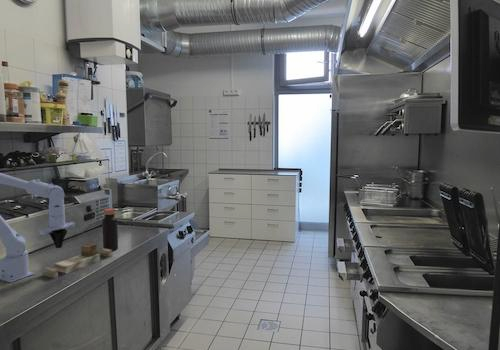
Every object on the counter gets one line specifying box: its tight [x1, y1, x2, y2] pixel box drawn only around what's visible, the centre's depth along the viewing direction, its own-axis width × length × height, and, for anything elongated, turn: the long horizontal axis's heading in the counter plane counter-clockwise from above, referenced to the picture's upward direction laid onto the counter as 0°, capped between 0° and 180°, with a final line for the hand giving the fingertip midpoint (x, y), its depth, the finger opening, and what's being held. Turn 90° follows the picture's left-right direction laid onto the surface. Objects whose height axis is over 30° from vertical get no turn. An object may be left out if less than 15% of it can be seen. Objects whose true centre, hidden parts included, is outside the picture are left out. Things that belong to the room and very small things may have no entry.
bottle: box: [101, 208, 119, 252], centre depth 173 cm, size 7×7×20 cm
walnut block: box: [80, 242, 98, 257], centre depth 157 cm, size 4×4×4 cm
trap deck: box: [42, 247, 113, 279], centre depth 153 cm, size 29×7×3 cm, turn 154°
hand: (58, 247), depth 146 cm, fingers closed
